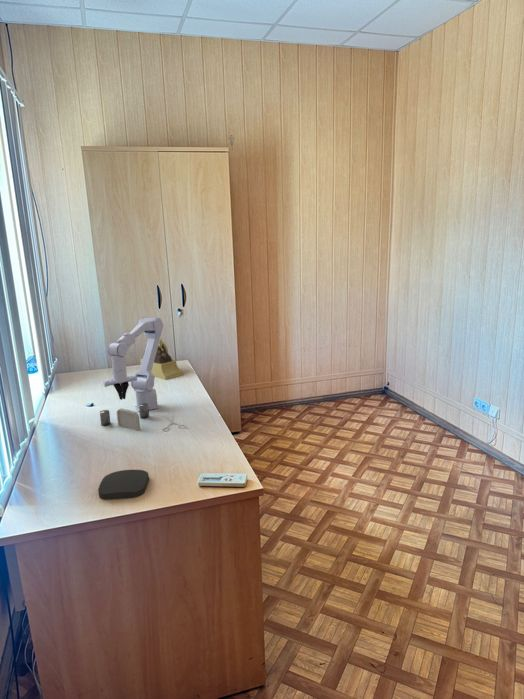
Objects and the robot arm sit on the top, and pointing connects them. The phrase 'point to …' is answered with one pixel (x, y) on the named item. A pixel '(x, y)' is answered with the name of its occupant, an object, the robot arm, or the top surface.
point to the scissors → (172, 423)
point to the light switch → (128, 419)
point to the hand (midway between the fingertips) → (122, 398)
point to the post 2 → (144, 411)
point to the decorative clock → (164, 364)
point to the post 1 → (105, 417)
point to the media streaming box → (123, 484)
